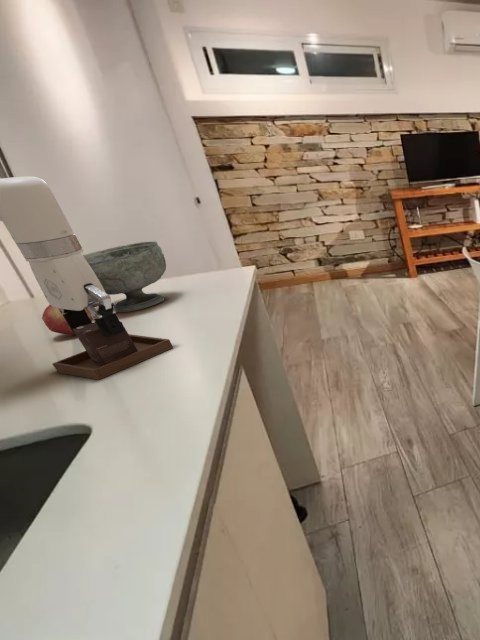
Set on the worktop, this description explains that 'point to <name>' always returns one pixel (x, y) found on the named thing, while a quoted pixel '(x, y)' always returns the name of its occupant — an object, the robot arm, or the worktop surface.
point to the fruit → (58, 320)
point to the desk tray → (90, 369)
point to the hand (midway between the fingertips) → (99, 332)
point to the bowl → (129, 273)
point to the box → (104, 344)
